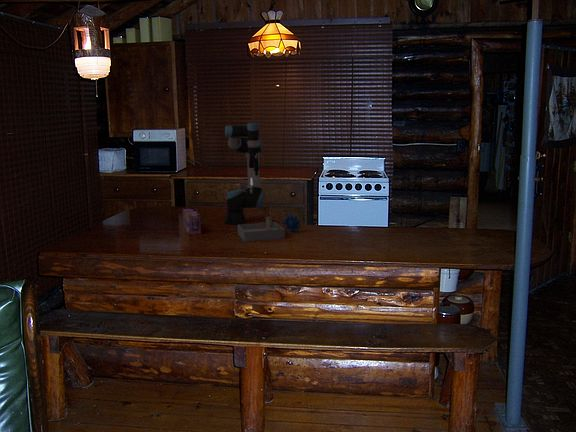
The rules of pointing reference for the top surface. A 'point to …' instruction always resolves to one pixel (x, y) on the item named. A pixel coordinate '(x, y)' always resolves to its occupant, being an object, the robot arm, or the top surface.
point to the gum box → (191, 221)
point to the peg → (268, 223)
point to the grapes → (291, 223)
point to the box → (260, 232)
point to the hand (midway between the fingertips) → (254, 179)
